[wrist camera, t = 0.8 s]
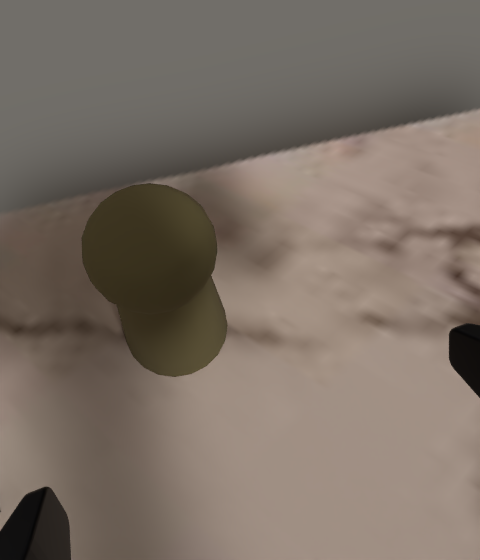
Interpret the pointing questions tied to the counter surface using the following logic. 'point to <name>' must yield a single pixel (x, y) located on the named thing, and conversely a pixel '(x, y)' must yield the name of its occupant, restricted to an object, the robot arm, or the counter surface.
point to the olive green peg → (158, 275)
